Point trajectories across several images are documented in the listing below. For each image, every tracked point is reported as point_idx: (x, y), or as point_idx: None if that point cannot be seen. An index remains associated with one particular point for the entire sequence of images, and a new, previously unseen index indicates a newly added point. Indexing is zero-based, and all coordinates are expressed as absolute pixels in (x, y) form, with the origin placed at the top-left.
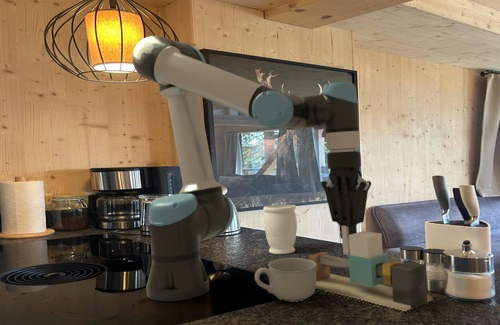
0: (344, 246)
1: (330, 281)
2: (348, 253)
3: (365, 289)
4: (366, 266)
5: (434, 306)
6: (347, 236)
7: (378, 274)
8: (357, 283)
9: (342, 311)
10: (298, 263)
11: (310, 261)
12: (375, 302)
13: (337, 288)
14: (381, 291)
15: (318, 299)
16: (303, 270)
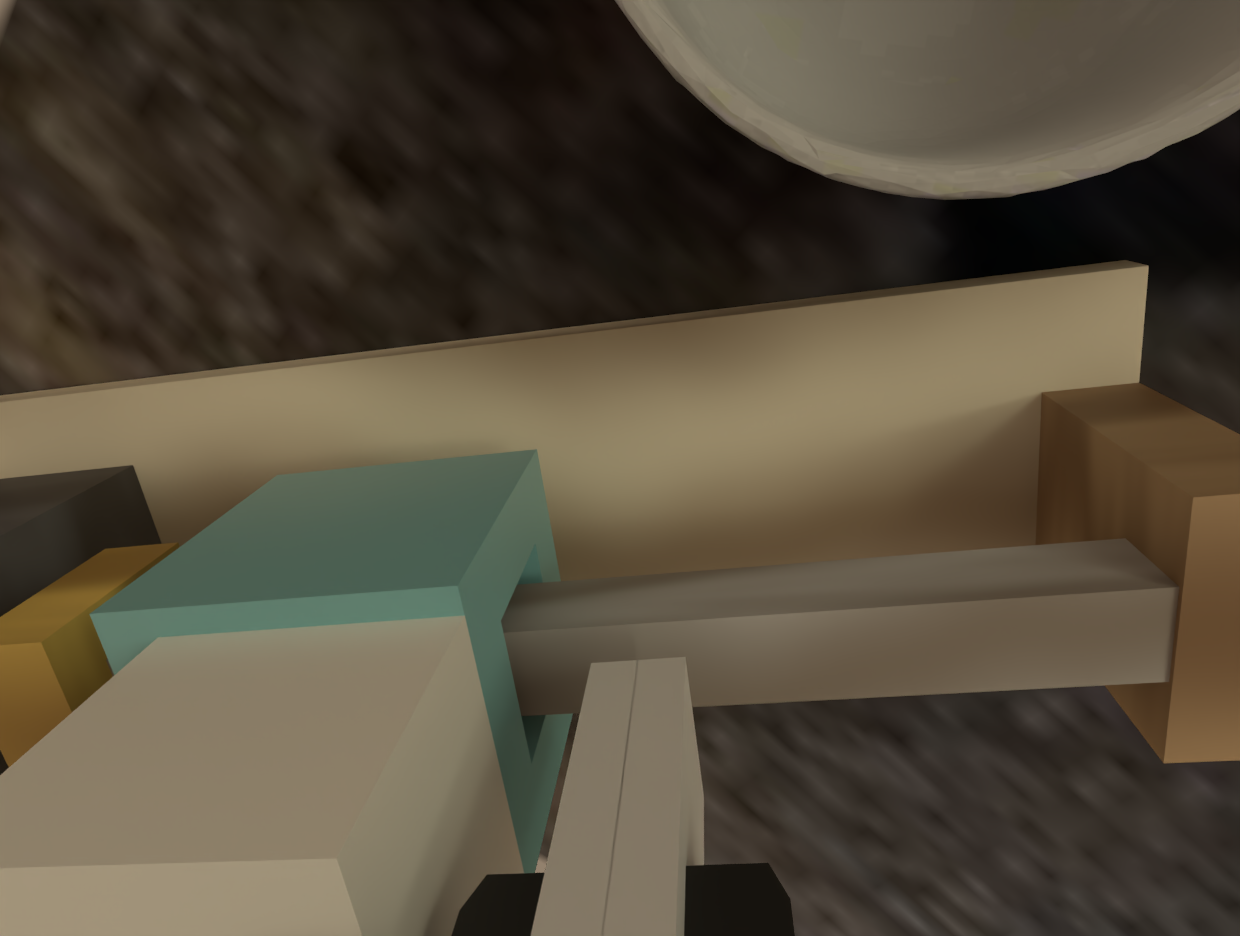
0: (643, 735)
1: (920, 494)
2: (591, 682)
3: None
4: (225, 555)
5: None
6: (544, 894)
7: None
8: (444, 458)
9: (259, 43)
10: (1183, 74)
11: (941, 164)
12: (218, 372)
13: (692, 385)
14: None
15: (669, 95)
16: (1051, 128)
